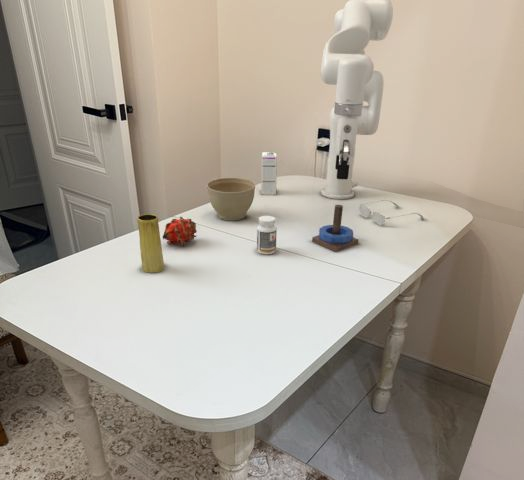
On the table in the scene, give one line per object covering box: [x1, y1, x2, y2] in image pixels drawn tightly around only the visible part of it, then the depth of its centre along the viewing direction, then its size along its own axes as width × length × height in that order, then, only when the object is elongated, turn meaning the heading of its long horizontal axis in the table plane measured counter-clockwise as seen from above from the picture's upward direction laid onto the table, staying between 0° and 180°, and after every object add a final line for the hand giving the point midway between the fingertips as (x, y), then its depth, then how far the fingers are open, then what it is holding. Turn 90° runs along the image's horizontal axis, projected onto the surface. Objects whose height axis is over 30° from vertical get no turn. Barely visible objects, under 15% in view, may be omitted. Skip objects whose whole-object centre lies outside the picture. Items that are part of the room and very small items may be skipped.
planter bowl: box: [206, 177, 256, 221], centre depth 167 cm, size 16×16×11 cm
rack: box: [311, 204, 359, 253], centre depth 149 cm, size 10×10×12 cm
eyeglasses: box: [358, 199, 425, 226], centre depth 171 cm, size 15×18×4 cm
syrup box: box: [260, 151, 278, 196], centre depth 189 cm, size 6×6×14 cm
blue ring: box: [318, 224, 354, 244], centre depth 151 cm, size 10×10×2 cm
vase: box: [136, 213, 166, 274], centre depth 131 cm, size 6×6×14 cm
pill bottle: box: [256, 215, 277, 255], centre depth 143 cm, size 6×6×10 cm
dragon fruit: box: [162, 216, 198, 247], centre depth 147 cm, size 8×8×12 cm
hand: (341, 174), depth 145 cm, fingers open, 9 cm apart
